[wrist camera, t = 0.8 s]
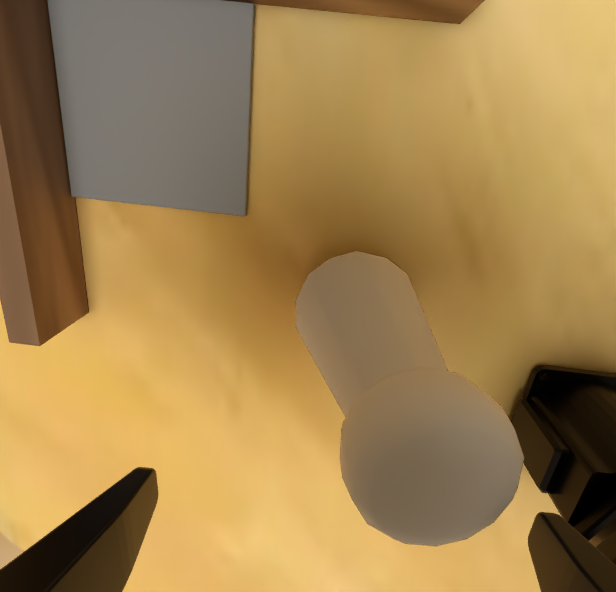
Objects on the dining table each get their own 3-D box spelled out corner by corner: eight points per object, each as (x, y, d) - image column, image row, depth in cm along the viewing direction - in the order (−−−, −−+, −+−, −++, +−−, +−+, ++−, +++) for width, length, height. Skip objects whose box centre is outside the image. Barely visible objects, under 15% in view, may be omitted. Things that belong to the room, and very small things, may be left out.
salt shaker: (323, 222, 19) (405, 339, 7) (421, 268, 21) (631, 435, 8) (275, 321, 21) (274, 555, 9) (368, 359, 22) (480, 610, 10)
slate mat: (254, 6, 17) (253, 3, 16) (246, 214, 20) (244, 216, 19) (51, -14, 17) (45, -17, 16) (76, 195, 20) (71, 196, 20)
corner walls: (468, -21, 16) (509, -70, 12) (392, 349, 22) (404, 391, 18) (8, -65, 16) (-89, -126, 13) (63, 309, 23) (9, 342, 19)
